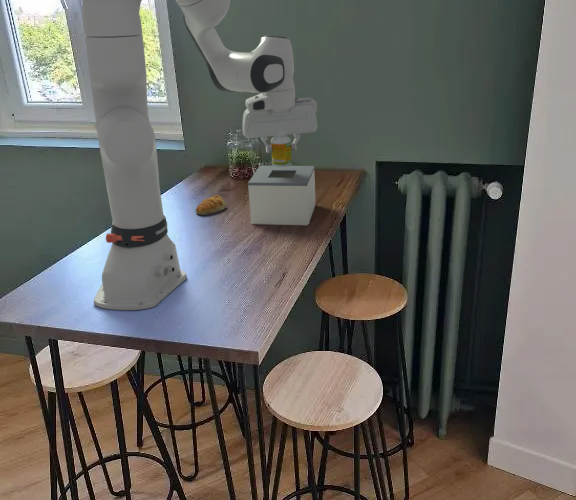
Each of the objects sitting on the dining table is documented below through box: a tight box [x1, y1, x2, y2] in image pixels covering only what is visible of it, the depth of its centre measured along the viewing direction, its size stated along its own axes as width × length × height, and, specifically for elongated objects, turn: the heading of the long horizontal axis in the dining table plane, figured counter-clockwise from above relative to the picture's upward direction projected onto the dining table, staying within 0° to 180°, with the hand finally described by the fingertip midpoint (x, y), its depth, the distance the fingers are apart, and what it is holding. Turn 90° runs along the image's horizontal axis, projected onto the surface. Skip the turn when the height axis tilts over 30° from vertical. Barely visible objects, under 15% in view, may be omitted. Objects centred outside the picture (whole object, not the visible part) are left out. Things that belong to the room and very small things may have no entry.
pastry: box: [195, 194, 227, 216], centre depth 178 cm, size 9×7×4 cm
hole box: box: [247, 165, 316, 226], centre depth 170 cm, size 16×16×12 cm
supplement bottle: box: [270, 131, 293, 167], centre depth 165 cm, size 5×5×10 cm
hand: (281, 150), depth 165 cm, fingers closed on supplement bottle, 5 cm apart
